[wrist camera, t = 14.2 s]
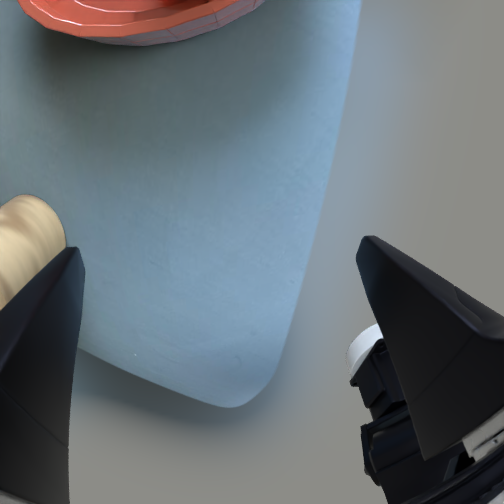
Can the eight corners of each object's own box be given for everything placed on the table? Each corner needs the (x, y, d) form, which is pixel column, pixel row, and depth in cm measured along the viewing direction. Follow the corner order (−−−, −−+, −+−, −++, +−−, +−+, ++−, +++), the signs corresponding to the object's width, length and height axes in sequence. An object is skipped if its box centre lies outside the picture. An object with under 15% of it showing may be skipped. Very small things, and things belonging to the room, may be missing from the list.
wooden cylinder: (65, 200, 21) (-3, 263, 13) (68, 277, 24) (21, 351, 16) (-1, 189, 20) (-71, 240, 12) (7, 261, 23) (-45, 323, 15)
